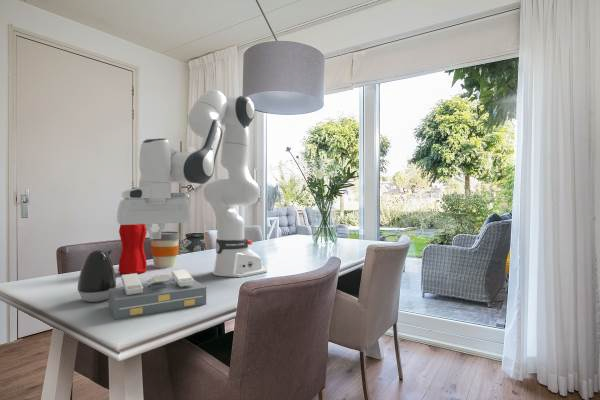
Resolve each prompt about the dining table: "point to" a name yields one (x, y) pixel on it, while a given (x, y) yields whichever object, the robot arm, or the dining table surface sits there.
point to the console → (155, 299)
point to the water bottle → (132, 249)
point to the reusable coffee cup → (165, 249)
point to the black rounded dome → (96, 277)
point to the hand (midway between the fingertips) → (155, 238)
